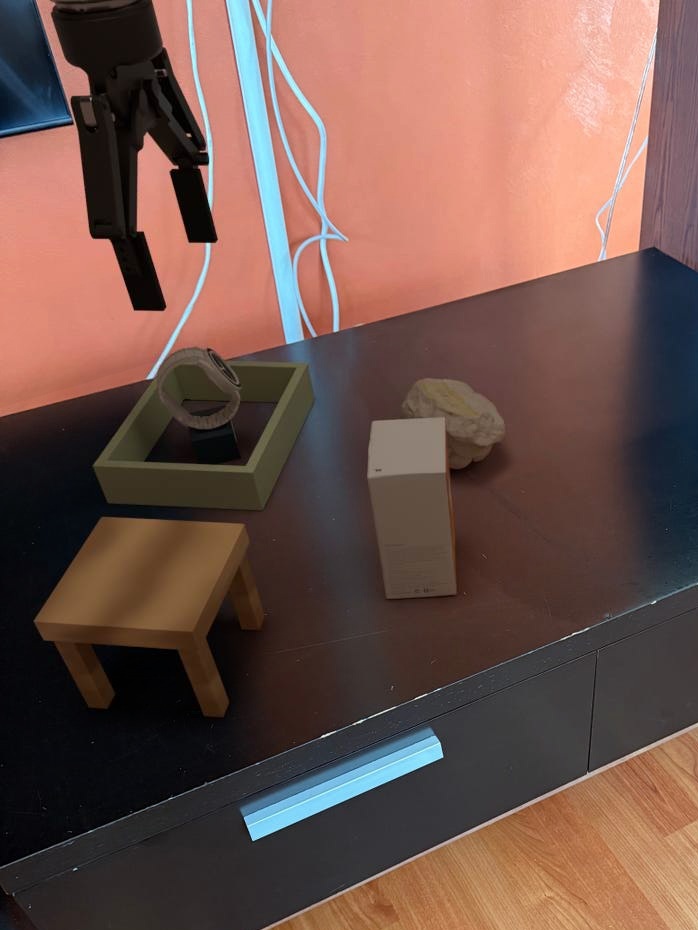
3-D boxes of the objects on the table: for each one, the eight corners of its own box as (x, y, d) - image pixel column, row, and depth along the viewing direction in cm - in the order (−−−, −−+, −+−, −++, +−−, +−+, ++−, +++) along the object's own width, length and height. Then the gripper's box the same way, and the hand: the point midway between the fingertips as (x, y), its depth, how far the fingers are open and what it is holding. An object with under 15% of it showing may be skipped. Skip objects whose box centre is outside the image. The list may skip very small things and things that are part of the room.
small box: (458, 596, 82) (447, 472, 73) (385, 600, 82) (364, 477, 73) (456, 536, 88) (446, 414, 78) (388, 540, 88) (369, 419, 79)
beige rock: (442, 412, 103) (382, 464, 98) (426, 343, 97) (362, 395, 92) (533, 439, 97) (474, 496, 92) (522, 367, 91) (459, 424, 86)
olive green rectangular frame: (107, 503, 94) (92, 465, 91) (179, 394, 108) (167, 358, 105) (262, 510, 92) (252, 472, 89) (315, 399, 106) (308, 362, 103)
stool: (81, 711, 75) (32, 621, 68) (139, 606, 83) (101, 516, 76) (226, 722, 74) (192, 631, 66) (270, 614, 82) (244, 523, 75)
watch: (259, 453, 99) (234, 357, 91) (182, 471, 97) (149, 375, 89) (251, 426, 103) (226, 331, 95) (176, 442, 101) (144, 347, 93)
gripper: (74, 44, 62) (167, 342, 77) (202, -41, 79) (258, 217, 95) (-31, 46, 63) (81, 340, 78) (118, -38, 80) (186, 216, 95)
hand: (178, 273), depth 86 cm, fingers open, 13 cm apart
